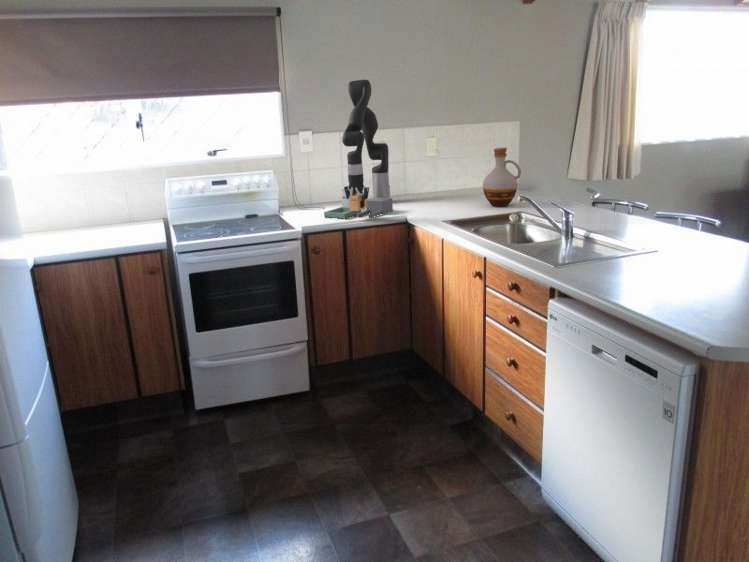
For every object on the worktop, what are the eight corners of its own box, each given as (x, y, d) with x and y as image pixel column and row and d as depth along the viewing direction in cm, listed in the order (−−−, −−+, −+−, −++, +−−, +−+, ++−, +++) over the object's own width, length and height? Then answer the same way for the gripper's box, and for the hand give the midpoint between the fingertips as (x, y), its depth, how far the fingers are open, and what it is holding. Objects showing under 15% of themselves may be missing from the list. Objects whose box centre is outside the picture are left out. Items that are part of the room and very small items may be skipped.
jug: (518, 202, 342) (519, 145, 333) (522, 208, 325) (523, 148, 316) (481, 203, 344) (481, 147, 335) (483, 209, 327) (483, 150, 318)
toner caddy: (359, 207, 321) (358, 193, 319) (367, 207, 318) (366, 193, 316) (348, 210, 314) (347, 196, 312) (356, 211, 311) (355, 197, 309)
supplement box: (342, 211, 342) (340, 187, 339) (348, 208, 349) (347, 185, 345) (353, 211, 339) (352, 188, 335) (360, 209, 345) (359, 185, 342)
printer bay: (377, 210, 339) (376, 197, 337) (392, 211, 334) (392, 198, 332) (355, 217, 324) (354, 203, 322) (371, 218, 318) (370, 204, 316)
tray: (341, 212, 338) (341, 206, 338) (361, 214, 331) (361, 208, 330) (324, 217, 327) (323, 212, 326) (344, 219, 320) (344, 213, 319)
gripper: (371, 172, 309) (373, 206, 315) (348, 171, 317) (350, 205, 322) (363, 174, 304) (365, 209, 309) (339, 173, 311) (341, 207, 317)
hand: (357, 207), depth 316 cm, fingers closed on toner caddy, 5 cm apart
